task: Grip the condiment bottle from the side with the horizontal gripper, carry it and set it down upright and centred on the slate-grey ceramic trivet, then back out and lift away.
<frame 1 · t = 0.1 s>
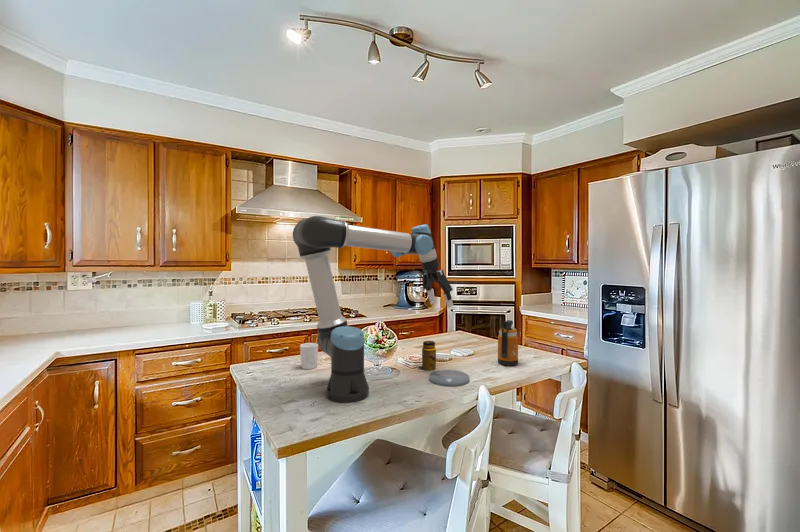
hand: (441, 305, 168), 28 cm above the kitchen island, tool tilted 20°, fingers open, 13 cm apart
white cup: (309, 367, 167), on the kitchen island
canister: (507, 364, 173), on the kitchen island
trivet: (448, 379, 151), on the kitchen island
condiment: (426, 369, 165), on the kitchen island
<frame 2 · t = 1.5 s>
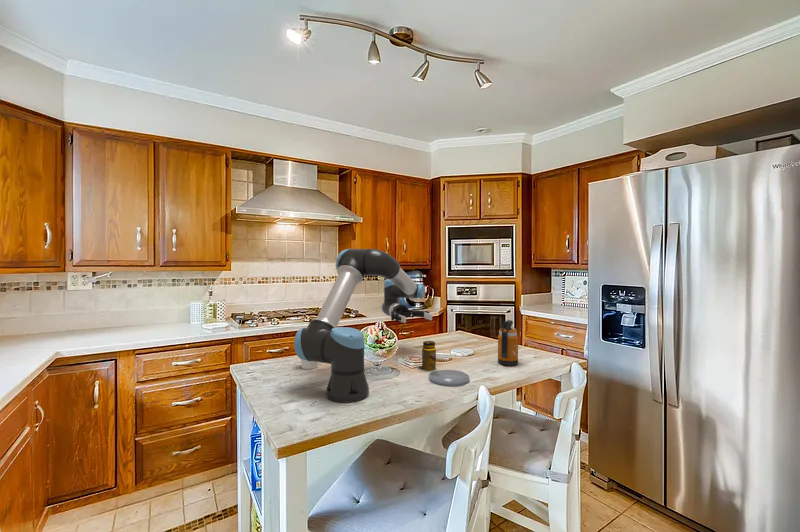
hand: (418, 318, 172), 21 cm above the kitchen island, tool horizontal, fingers open, 13 cm apart
nothing on the kitchen island moved.
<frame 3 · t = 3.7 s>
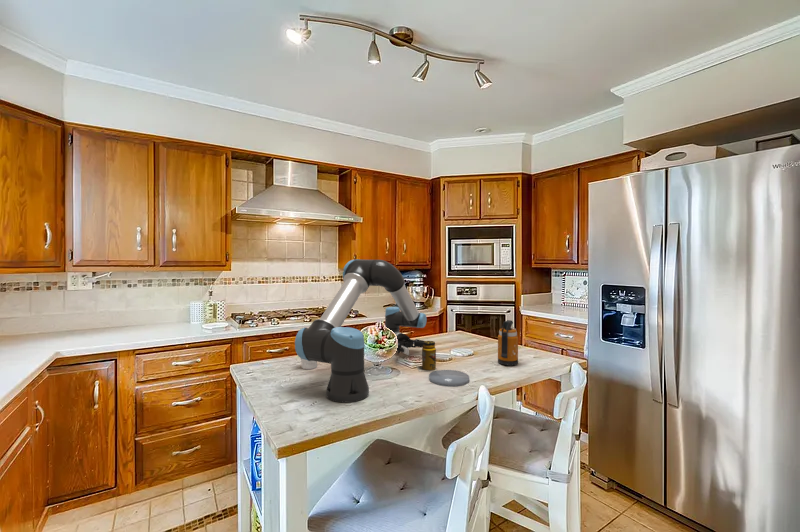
hand: (421, 350, 170), 7 cm above the kitchen island, tool horizontal, fingers open, 13 cm apart
nothing on the kitchen island moved.
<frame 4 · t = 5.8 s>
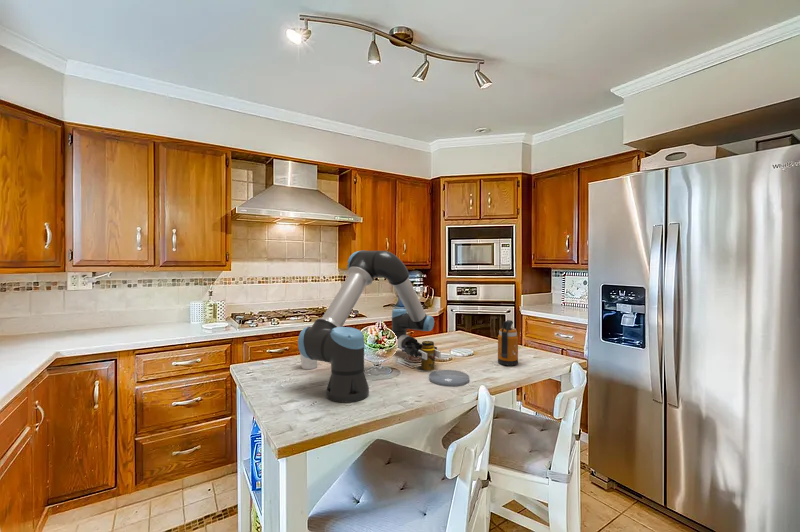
hand: (433, 355, 161), 7 cm above the kitchen island, tool horizontal, fingers closed on condiment, 6 cm apart
condiment: (425, 369, 165), on the kitchen island, touching gripper
everything else where it was.
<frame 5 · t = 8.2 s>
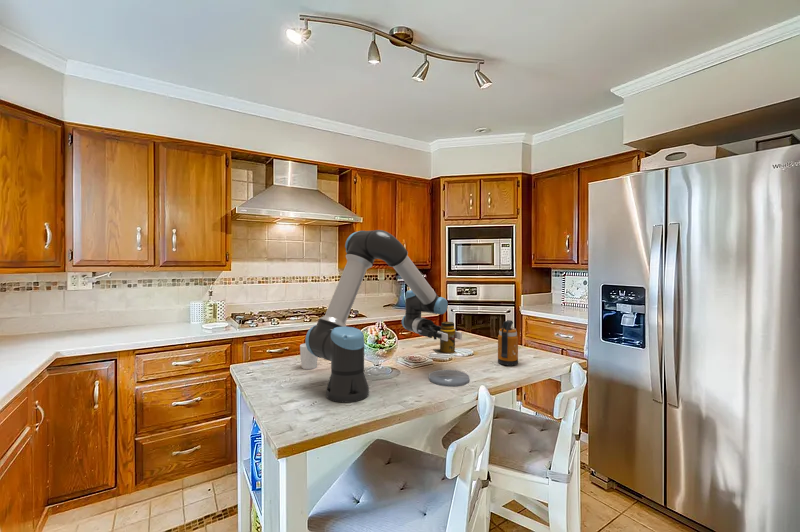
hand: (454, 336, 149), 18 cm above the kitchen island, tool horizontal, fingers closed on condiment, 6 cm apart
condiment: (445, 352, 153), point 10 cm above the kitchen island, touching gripper
everything else where it was.
when the fingers open (9 cm above the kitchen island, at t = 10.3 s): condiment stays where it is, resting on trivet.
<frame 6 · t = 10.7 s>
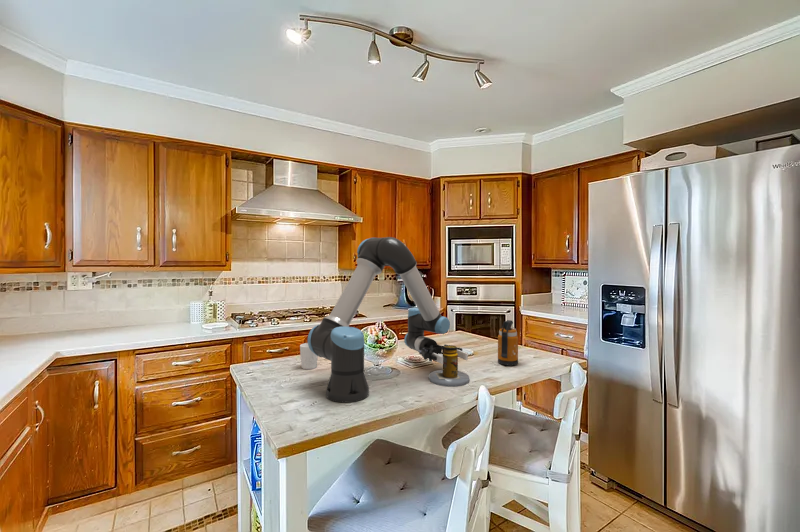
hand: (454, 358, 147), 9 cm above the kitchen island, tool horizontal, fingers open, 11 cm apart
condiment: (447, 376, 151), point 1 cm above the kitchen island, touching trivet
everything else where it was.
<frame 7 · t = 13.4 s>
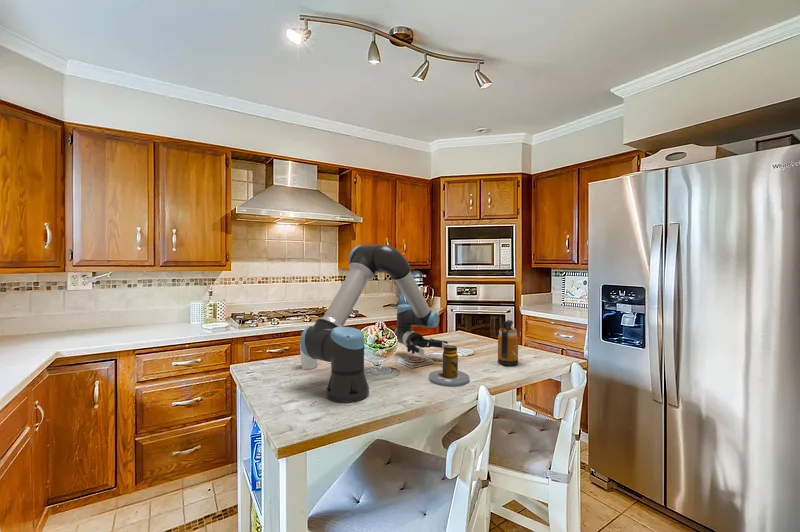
hand: (437, 350, 159), 10 cm above the kitchen island, tool horizontal, fingers open, 13 cm apart
nothing on the kitchen island moved.
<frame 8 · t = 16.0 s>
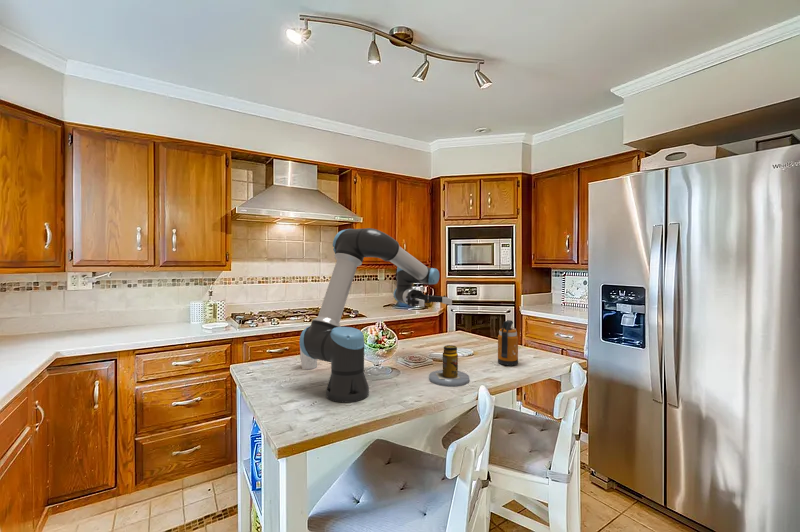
hand: (437, 302, 158), 30 cm above the kitchen island, tool horizontal, fingers open, 13 cm apart
nothing on the kitchen island moved.
at the end: condiment 0.7 cm off-centre on the trivet, point 1.3 cm above the trivet's base; condiment tilted 0°; the gripper is holding nothing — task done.
